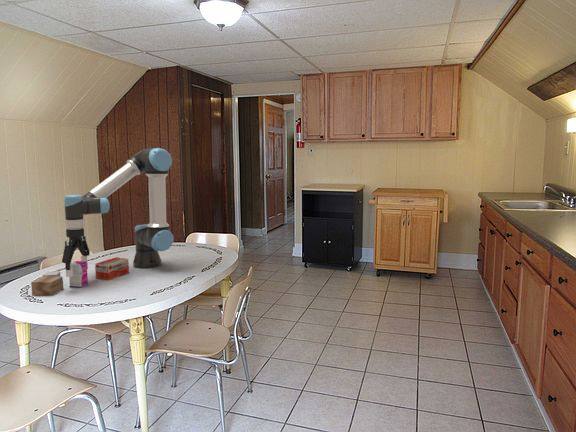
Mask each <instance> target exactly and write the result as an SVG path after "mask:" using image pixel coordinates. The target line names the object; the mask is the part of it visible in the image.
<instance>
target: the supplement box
mask: <svg viewBox="0 0 576 432" xmlns="http://www.w3.org/2000/svg"><path fill="white" fill-rule="evenodd" d="M71 262H72V270H73V277H68V278H69V288H78V289H80V288H83V287H84V286H88V285H89V283H88V282H89V280H88V269H87V262H88V261H87V262H86V261H81V260H76V261H71Z"/></svg>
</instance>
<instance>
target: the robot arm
mask: <svg viewBox="0 0 576 432" xmlns="http://www.w3.org/2000/svg"><path fill="white" fill-rule="evenodd" d="M172 159H173V158H172V156H171V153H170V152H169V151H167V150H166V149H164V148H160V147H154V148H149V147H148V148H143V149H142V150H140V151H138V152H137V153H135V154H134V155H133V156H131V157H130V158H129V159H127V160H126V163H125V164H124V165H123V166H121V167H120V168H119V169H117V170H116V171H115V172H113V173H112V174H111V175H109V176H108V177H107V178H105V179H103V181H102V182H100V183H99V184H97V185H96V186H94V187H93V188H92V189H90V190H89V191H88V192H86V193H85V194H84V195H81V194H67V195H65V197H64V199H63V200H64V205H63V206H64V216H65V228H66V230H65V236H66V237H67V238H68V240H65V241H64V249H63V253H62V259H61V263H63V264H65V277H66V278H69V277H73V270H72V262H73V260H72V259H73V257H74V254H75V251H76V250H77V249H78V251H79V252H80V254H81V256H80V261H86V262H87V270H88V269H89V268H88V267H89V265H88V257H89V256H90V253H91V252H90V248H89V245H88V242H87V237H86V236H85V229H84V227H85V224H84V216H86V215H96V214H97V215H98V214H99V215H100V214H101V215H103V214H107V213H108V212H109V211H110V208H111V207H110V206H111V205H110V201H109V199H108V197H110V196H111V195H112V194H113V193H115V192H116V191H117V190H119V189H120V188H121V187H122V186H124V185H125V184H127V182H129V181H130V180H131V179H133V178H134V177H135V176H139V175H141V174H143V173H145V176H146V177H147V178H148V206H149V223H148V224H147V223H146V224H145V223H144V224H138V225H136V226H135V227H134V231H133V232H134V244H135V254H134V258H133V261H132V263H133V264H132V265H133V267H134V268H136V269H137V268H138V269H140V268H141V269H149V268H156V267H159V266H161V265H162V259H161V256H160V253H159V252H166V251H168V250H169V249H170V248H171V247H172V245H173V244H174V239H175V238H174V235H173V232H172V231H171V230H170V229H171V228H170V224H169V223H168V222H167V191H166V190H167V189H166V185H167V182H166V178H167V176H169V170H170V168H171V167H172V164H173V160H172Z"/></svg>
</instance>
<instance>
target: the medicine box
mask: <svg viewBox="0 0 576 432" xmlns="http://www.w3.org/2000/svg"><path fill="white" fill-rule="evenodd" d="M129 266H130V263H129V258H126V257H118V256H117V257H116V256H115V257H112V258H110V259H107V260H106V259H105V260H102V261H99V262H95V267H94V269H95V278H96V280H105V281H110V280H113V279H116V278H119V277H122V276H124V274H125V275H127V274H129V273H130V267H129Z"/></svg>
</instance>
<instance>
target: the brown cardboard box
mask: <svg viewBox="0 0 576 432" xmlns="http://www.w3.org/2000/svg"><path fill="white" fill-rule="evenodd" d="M63 278H64V277H63V276H61V277H48V276H43V275H42V277H40V278H36V279H35V280H32V281H31V282H30V283H31V284H30V285H31V296H54V295H56V294H57V293H60V292H61V291H64V281H63V280H64V279H63Z"/></svg>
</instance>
